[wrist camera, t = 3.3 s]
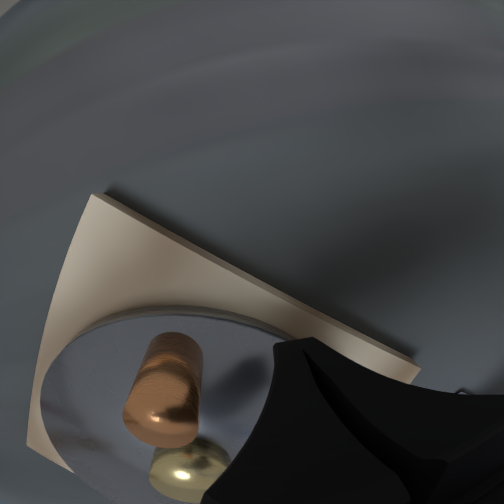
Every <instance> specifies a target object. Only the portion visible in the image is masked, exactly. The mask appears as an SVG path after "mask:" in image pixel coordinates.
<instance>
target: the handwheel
mask: <svg viewBox="0 0 504 504" xmlns="http://www.w3.org/2000/svg"><path fill="white" fill-rule="evenodd" d="M296 339H297V338H295V337H293V336H292V335H290V334H288V333H286V332H284V331H283V330H281V329H279V328H277V327H275V326H273V325H270V324H268V323H265V322H263V321H260V320H258V319H255V318H253V317H249V316H245V315H242V314H238V313H235V312H231V311H227V310H221V309H215V308H209V307H203V306H187V305H163V306H148V307H143V308H137V309H132V310H126V311H123V312H120V313H117V314H114V315H111V316H108V317H105V318H103V319H101V320H99V321H97V322H95V323H93V324H91V325H90V326H88V327H86V328H85V329H84V330H82V331H81V332H80V333H79V334H77V335H76V336H75V337H74V338H73V339H72V340H71V341H70V342H69V343H68V344H67V345H66V346H65V348H64V349H63V350H62V351H61V352H60V353H59V355H58V356H57V357H56V358H55V359H54V361H53V362H52V363H51V365H50V367H49V369H48V370H47V372H46V374H45V376H44V380H43V383H42V387H41V394H40V408H41V416H42V420H43V424H44V427H45V430H46V432H47V435H48V437H49V439H50V441H51V443H52V445H53V446H54V448H55V449H56V451H57V453H58V454H59V456H60V457H61V458H62V459H63V461H64V462H65V463H66V464H67V466H68V467H69V468H70V469H71V470H72V471H73V472H74V473H75V474H76V475H77V476H78V477H79V478H81V479H82V480H83V481H84V482H85V483H86V484H88V485H89V486H90V487H92V488H93V489H94V490H96V491H97V492H99V493H100V494H102V495H103V496H105V497H107V498H109V499H110V500H112V501H114V502H116V503H118V504H200V502H201V499H202V497H203V494H204V492H205V491H206V490H207V489H208V488H209V487H210V486H211V485H212V484H213V483H214V482H215V481H216V480H217V479H218V477H219V476H220V475H221V474H222V473H223V472H224V471H225V470H226V469H227V467H228V466H229V465H230V464H231V462H232V461H233V460H234V458H235V457H236V455H237V454H238V453H239V451H240V450H241V448H242V447H243V445H244V444H245V442H246V441H247V439H248V437H249V436H250V434H251V432H252V430H253V428H254V426H255V425H256V423H257V421H258V419H259V416H260V414H261V412H262V410H263V407H264V404H265V402H266V399H267V396H268V392H269V389H270V385H271V382H272V377H273V371H274V357H273V345H274V344H275V343H278V342H284V341H290V340H296Z"/></svg>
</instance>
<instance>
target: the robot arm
mask: <svg viewBox="0 0 504 504" xmlns="http://www.w3.org/2000/svg"><path fill="white" fill-rule="evenodd" d="M273 357H274V371H273V377H272V382H271V385H270V389H269V392H268V396H267V399H266V402H265V404H264V407H263V410H262V412H261V414H260V416H259V419H258V421H257V423H256V425H255V426H254V428H253V430H252V432H251V434H250V436H249V437H248V439H247V441H246V442H245V444H244V445H243V447H242V448H241V450H240V451H239V453H238V454H237V455H236V457H235V458H234V460H233V461H232V462H231V464H230V465H229V466H228V467H227V469H226V470H225V471H224V472H223V473H222V474H221V475H220V476H219V477H218V479H217V480H216V481H215V482H214V483H213V484H212V485H211V486H210V487H209V488H208V489H207V490H206V491H205V492H204V494H203V497H202V499H201V502H200V504H504V395H468V394H466V393H464V392H460V393H458V394H456V393H448V392H441V391H435V390H431V389H426V388H422V387H417V386H414V385H410V384H407V383H404V382H401V381H398V380H395V379H392V378H389V377H386V376H384V375H381V374H379V373H377V372H375V371H373V370H370V369H368V368H366V367H364V366H362V365H360V364H358V363H356V362H354V361H353V360H351V359H349V358H347V357H345V356H344V355H342V354H340V353H339V352H337V351H335V350H334V349H332V348H331V347H329V346H327V345H326V344H324V343H323V342H321V341H319V340H318V339H316V338H314V337H308V338H302V339H296V340H290V341H284V342H278V343H275V344H274V345H273Z"/></svg>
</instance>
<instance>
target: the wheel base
mask: <svg viewBox="0 0 504 504" xmlns="http://www.w3.org/2000/svg"><path fill="white" fill-rule="evenodd" d="M163 305H187V306H203V307H209V308H215V309H221V310H227V311H231V312H235V313H238V314H242V315H245V316H249V317H253V318H255V319H258V320H260V321H263V322H265V323H268V324H270V325H273V326H275V327H277V328H279V329H281V330H283V331H284V332H286V333H288V334H290V335H292V336H293V337H295V338H297V339H302V338H308V337H314V338H316V339H318V340H319V341H321V342H323V343H324V344H326V345H327V346H329V347H331V348H332V349H334V350H335V351H337V352H339V353H340V354H342V355H344V356H345V357H347V358H349V359H351V360H353V361H354V362H356V363H358V364H360V365H362V366H364V367H366V368H368V369H370V370H373V371H375V372H377V373H379V374H381V375H384V376H386V377H389V378H392V379H395V380H398V381H401V382H404V383H407V384H410V383H411V382H412V380H413V379H414V378H415V376H416V375H417V374H418V372H419V371H420V370H421V368H420V367H419V366H418V365H417V364H416V363H415V362H414V361H413V360H412V359H411V358H410V357H408V356H406V355H404V354H402V353H400V352H398V351H396V350H394V349H392V348H390V347H388V346H386V345H384V344H382V343H380V342H378V341H376V340H374V339H372V338H370V337H368V336H366V335H364V334H362V333H360V332H358V331H356V330H354V329H352V328H350V327H349V326H347V325H345V324H343V323H341V322H339V321H337V320H335V319H333V318H331V317H329V316H327V315H325V314H323V313H321V312H320V311H318V310H316V309H314V308H312V307H310V306H308V305H306V304H304V303H302V302H300V301H299V300H297V299H295V298H293V297H291V296H289V295H287V294H285V293H283V292H282V291H280V290H278V289H276V288H274V287H272V286H270V285H268V284H266V283H265V282H263V281H261V280H259V279H257V278H255V277H253V276H252V275H250V274H248V273H246V272H244V271H242V270H240V269H239V268H237V267H235V266H233V265H231V264H229V263H227V262H226V261H224V260H222V259H220V258H218V257H216V256H215V255H213V254H211V253H209V252H207V251H205V250H204V249H202V248H200V247H198V246H196V245H195V244H193V243H191V242H189V241H187V240H185V239H184V238H182V237H180V236H178V235H176V234H175V233H173V232H171V231H169V230H167V229H166V228H164V227H162V226H160V225H159V224H157V223H155V222H153V221H151V220H150V219H148V218H146V217H144V216H143V215H141V214H139V213H137V212H135V211H134V210H132V209H130V208H128V207H127V206H125V205H123V204H121V203H120V202H118V201H116V200H114V199H113V198H111V197H109V196H107V195H106V194H104V193H98V194H91V196H90V199H89V201H88V203H87V205H86V208H85V210H84V212H83V215H82V217H81V220H80V222H79V224H78V227H77V229H76V232H75V234H74V237H73V240H72V242H71V245H70V248H69V250H68V253H67V256H66V259H65V262H64V264H63V267H62V270H61V273H60V276H59V279H58V283H57V286H56V289H55V292H54V296H53V299H52V303H51V306H50V310H49V313H48V317H47V321H46V325H45V329H44V333H43V337H42V342H41V346H40V351H39V356H38V361H37V366H36V371H35V377H34V383H33V389H32V396H31V404H30V412H29V421H28V433H27V446H29V447H30V448H32V449H33V450H35V451H36V452H38V453H40V454H41V455H43V456H44V457H46V458H48V459H50V460H51V461H53V462H55V463H56V464H58V465H60V466H62V467H64V468H66V469H67V470H69V471H71V472H73V471H72V470H71V469H70V468H69V467H68V466H67V464H66V463H65V462H64V461H63V459H62V458H61V457H60V456H59V454H58V453H57V451H56V449H55V448H54V446H53V445H52V443H51V441H50V439H49V437H48V435H47V432H46V430H45V427H44V424H43V420H42V416H41V408H40V394H41V387H42V383H43V380H44V376H45V374H46V372H47V370H48V369H49V367H50V365H51V363H52V362H53V361H54V359H55V358H56V357H57V356H58V355H59V353H60V352H61V351H62V350H63V349H64V348H65V346H66V345H67V344H68V343H69V342H70V341H71V340H72V339H73V338H74V337H75V336H76V335H77V334H79V333H80V332H81V331H82V330H84V329H85V328H86V327H88V326H90V325H91V324H93V323H95V322H97V321H99V320H101V319H103V318H105V317H108V316H111V315H114V314H117V313H120V312H123V311H126V310H132V309H137V308H143V307H148V306H163ZM73 473H74V472H73Z"/></svg>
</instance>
